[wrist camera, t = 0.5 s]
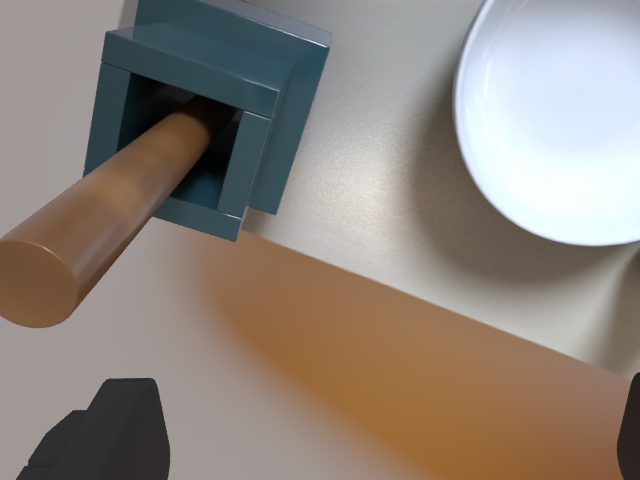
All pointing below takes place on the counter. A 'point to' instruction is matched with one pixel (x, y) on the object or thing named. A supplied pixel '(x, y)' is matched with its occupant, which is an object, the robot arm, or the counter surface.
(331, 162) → the counter surface
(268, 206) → the utensil holder
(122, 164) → the stick
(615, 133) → the serving bowl
